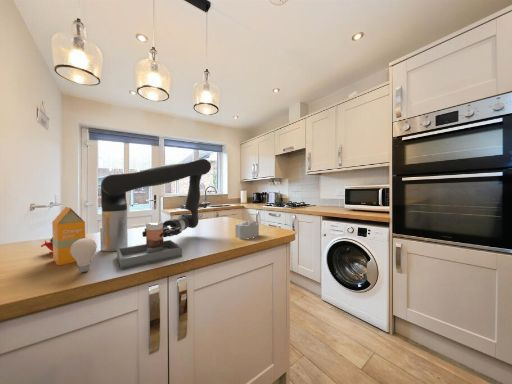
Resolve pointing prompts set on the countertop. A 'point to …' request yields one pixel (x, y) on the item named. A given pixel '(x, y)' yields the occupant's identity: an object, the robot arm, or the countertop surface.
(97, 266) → the countertop surface
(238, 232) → the grey rough block
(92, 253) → the light bulb
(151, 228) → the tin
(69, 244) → the orange juice
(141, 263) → the tote
